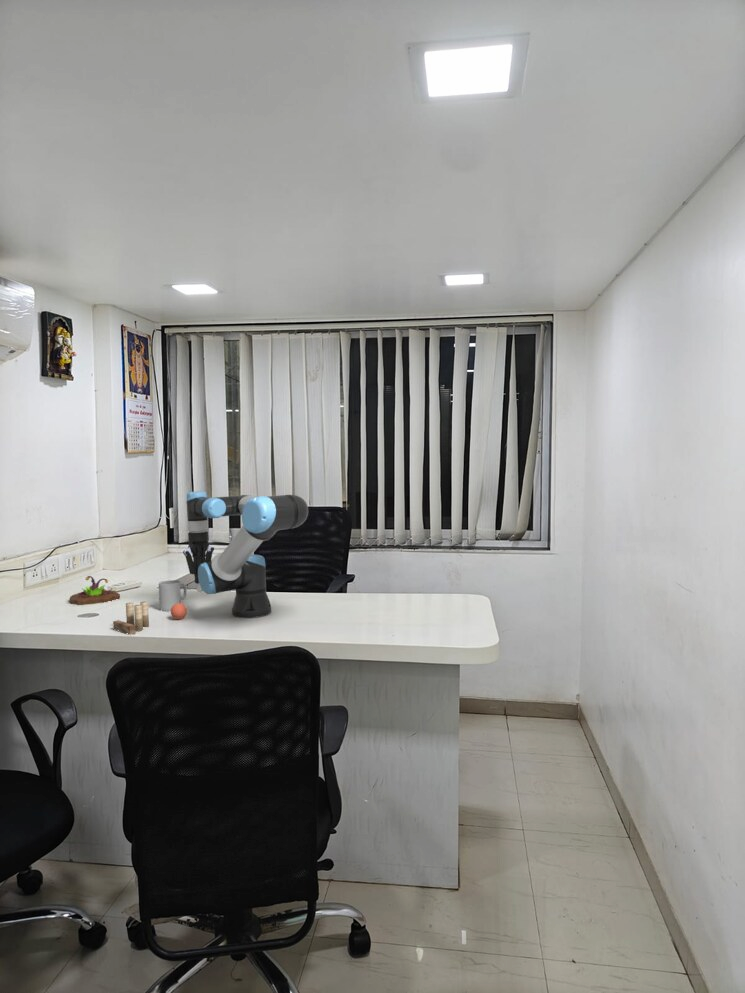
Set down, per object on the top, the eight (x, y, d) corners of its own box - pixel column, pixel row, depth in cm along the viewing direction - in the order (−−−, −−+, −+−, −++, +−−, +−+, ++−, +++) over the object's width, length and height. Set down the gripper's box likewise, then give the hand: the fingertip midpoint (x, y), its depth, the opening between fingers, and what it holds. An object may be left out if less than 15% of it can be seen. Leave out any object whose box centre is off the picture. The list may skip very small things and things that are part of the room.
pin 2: (144, 630, 233) (143, 605, 232) (137, 631, 231) (136, 606, 231) (140, 629, 235) (139, 604, 234) (134, 630, 233) (132, 605, 232)
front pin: (150, 626, 238) (149, 602, 237) (143, 628, 236) (142, 603, 235) (146, 625, 240) (145, 601, 239) (140, 627, 238) (138, 602, 237)
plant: (64, 600, 290) (63, 575, 289) (110, 593, 302) (109, 569, 301) (75, 608, 274) (74, 581, 273) (123, 600, 286) (122, 575, 285)
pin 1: (135, 627, 237) (134, 603, 236) (129, 629, 235) (127, 604, 234) (132, 626, 239) (131, 602, 238) (125, 628, 237) (124, 603, 236)
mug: (168, 612, 260) (166, 585, 259) (155, 609, 265) (154, 583, 264) (193, 606, 269) (191, 580, 268) (180, 604, 274) (179, 578, 274)
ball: (190, 618, 249) (189, 602, 248) (176, 621, 244) (175, 605, 244) (181, 616, 253) (181, 600, 252) (167, 619, 248) (167, 603, 248)
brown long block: (135, 633, 229) (135, 625, 228) (130, 635, 227) (129, 626, 227) (118, 628, 237) (118, 620, 236) (113, 629, 235) (113, 621, 235)
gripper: (206, 528, 261) (209, 587, 263) (177, 532, 251) (180, 592, 253) (217, 530, 256) (220, 589, 258) (188, 533, 246) (191, 595, 248)
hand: (200, 591), depth 255 cm, fingers closed
